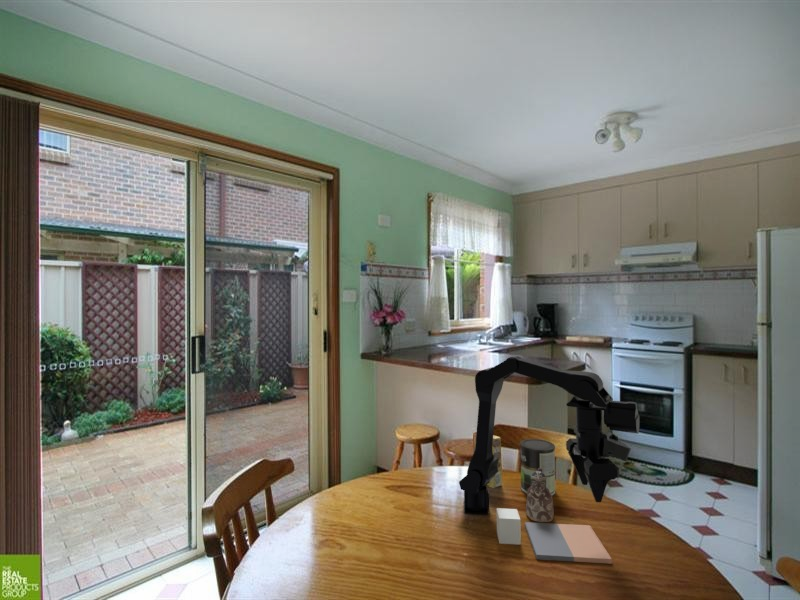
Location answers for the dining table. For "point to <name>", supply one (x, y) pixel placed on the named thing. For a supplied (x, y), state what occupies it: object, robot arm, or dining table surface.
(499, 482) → the candy box
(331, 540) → the dining table surface
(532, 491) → the figurine
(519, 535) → the cream block
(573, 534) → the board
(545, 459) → the coffee can
